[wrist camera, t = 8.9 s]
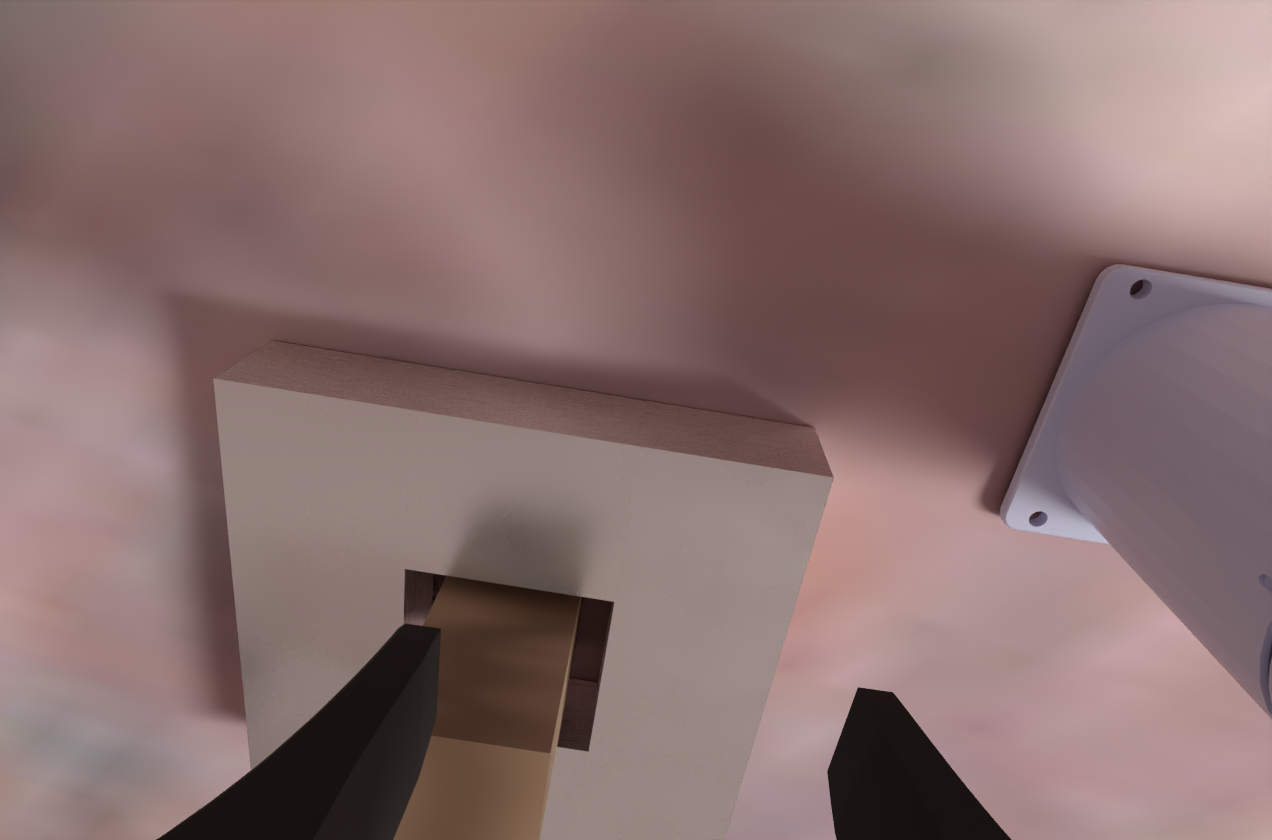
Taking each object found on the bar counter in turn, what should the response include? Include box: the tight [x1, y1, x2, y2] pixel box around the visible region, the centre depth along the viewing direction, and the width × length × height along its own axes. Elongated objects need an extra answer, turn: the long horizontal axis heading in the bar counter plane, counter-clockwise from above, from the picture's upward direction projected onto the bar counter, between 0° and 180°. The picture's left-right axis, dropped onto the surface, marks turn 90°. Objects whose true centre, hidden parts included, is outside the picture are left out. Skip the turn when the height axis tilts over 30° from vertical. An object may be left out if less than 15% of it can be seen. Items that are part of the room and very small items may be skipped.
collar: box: [213, 341, 834, 840], centre depth 24 cm, size 16×16×3 cm
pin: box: [393, 576, 583, 840], centre depth 21 cm, size 4×4×8 cm
